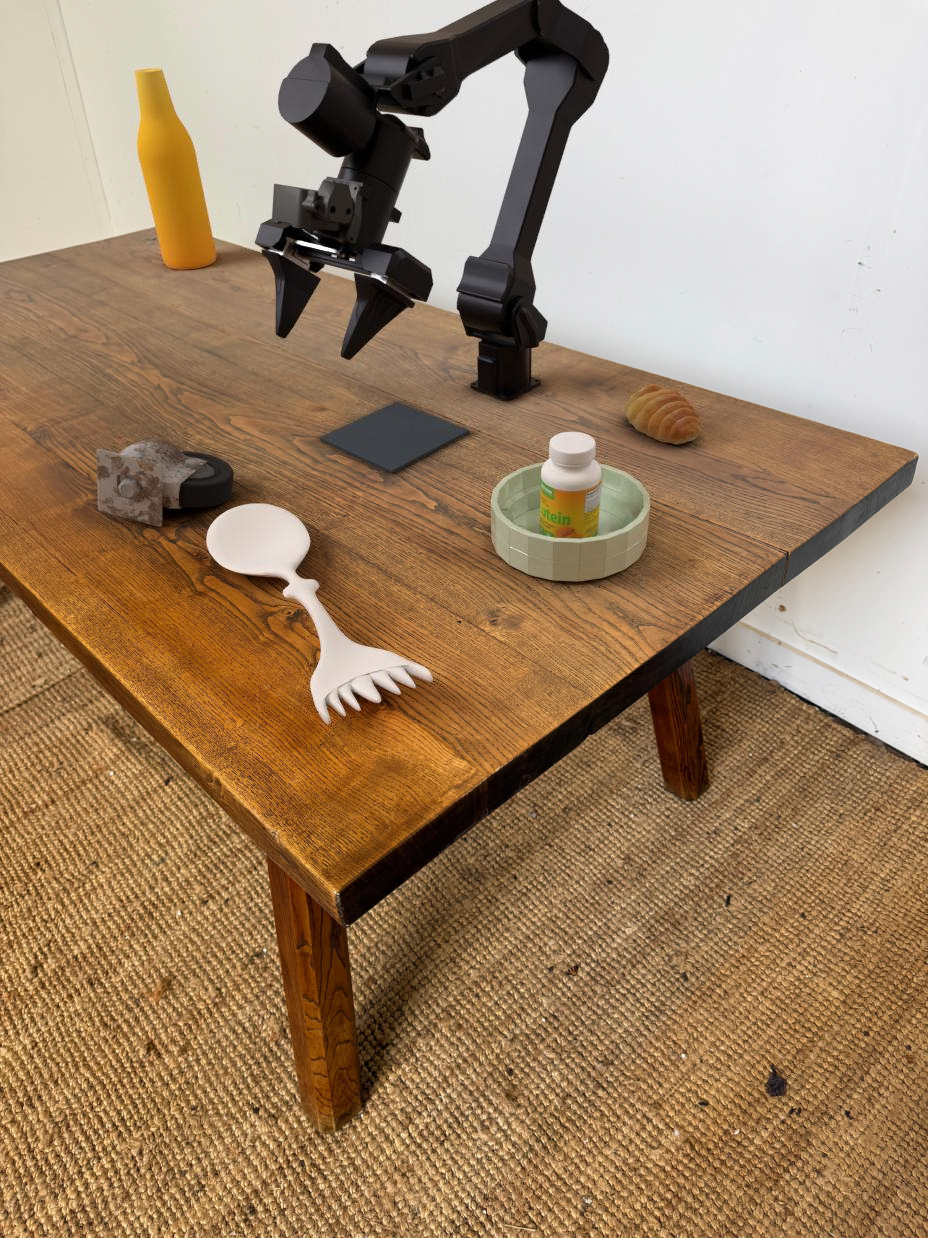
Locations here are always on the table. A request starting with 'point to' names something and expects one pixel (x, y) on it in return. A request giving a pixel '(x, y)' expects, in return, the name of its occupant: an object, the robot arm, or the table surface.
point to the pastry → (663, 415)
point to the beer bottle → (172, 177)
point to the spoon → (307, 605)
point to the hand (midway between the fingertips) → (311, 347)
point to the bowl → (569, 556)
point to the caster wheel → (159, 480)
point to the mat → (394, 436)
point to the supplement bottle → (570, 488)
